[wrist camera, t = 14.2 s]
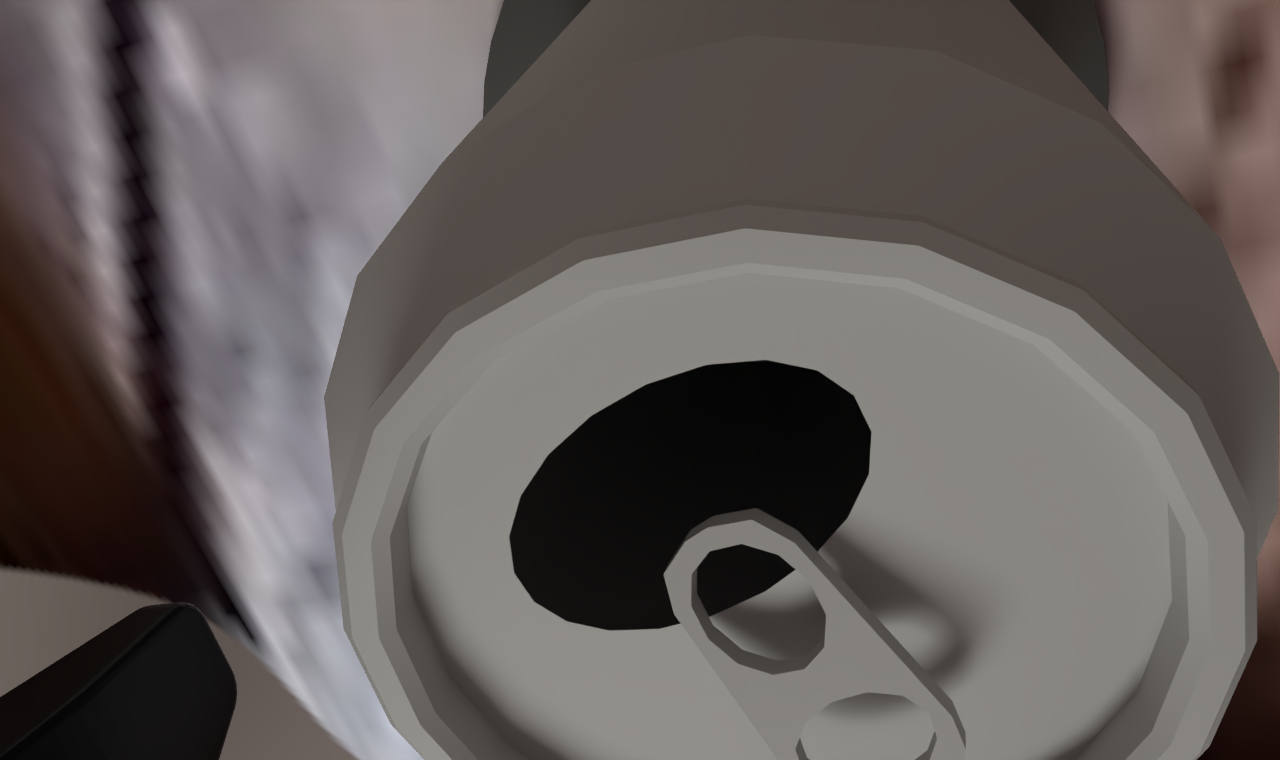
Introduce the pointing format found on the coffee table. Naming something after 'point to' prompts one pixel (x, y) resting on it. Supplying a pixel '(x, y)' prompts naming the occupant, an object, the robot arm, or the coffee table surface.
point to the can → (801, 408)
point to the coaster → (550, 3)
